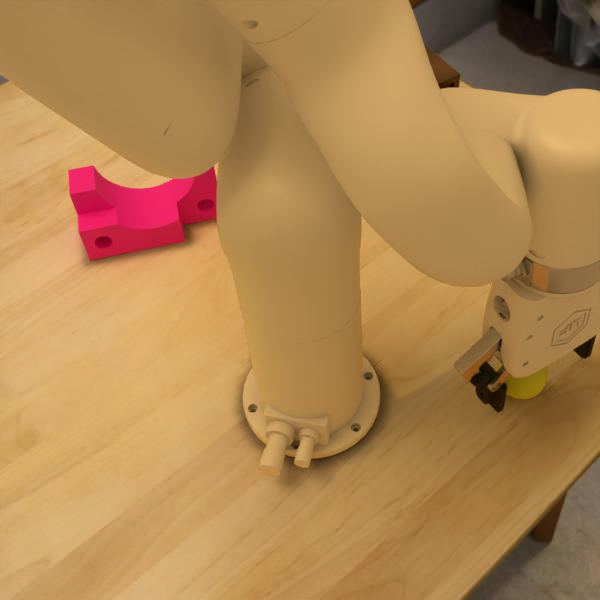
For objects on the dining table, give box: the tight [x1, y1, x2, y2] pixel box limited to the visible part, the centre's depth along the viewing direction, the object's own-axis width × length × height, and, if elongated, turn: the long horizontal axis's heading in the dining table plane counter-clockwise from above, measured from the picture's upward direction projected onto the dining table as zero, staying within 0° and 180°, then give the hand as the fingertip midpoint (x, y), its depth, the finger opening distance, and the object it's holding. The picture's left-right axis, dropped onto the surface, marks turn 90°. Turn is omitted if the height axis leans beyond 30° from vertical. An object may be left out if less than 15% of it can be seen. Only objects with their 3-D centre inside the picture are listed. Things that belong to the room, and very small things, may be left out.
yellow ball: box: [496, 361, 548, 400], centre depth 76 cm, size 4×4×4 cm
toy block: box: [67, 164, 217, 261], centre depth 91 cm, size 15×6×8 cm, turn 102°
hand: (532, 373), depth 76 cm, fingers open, 9 cm apart
